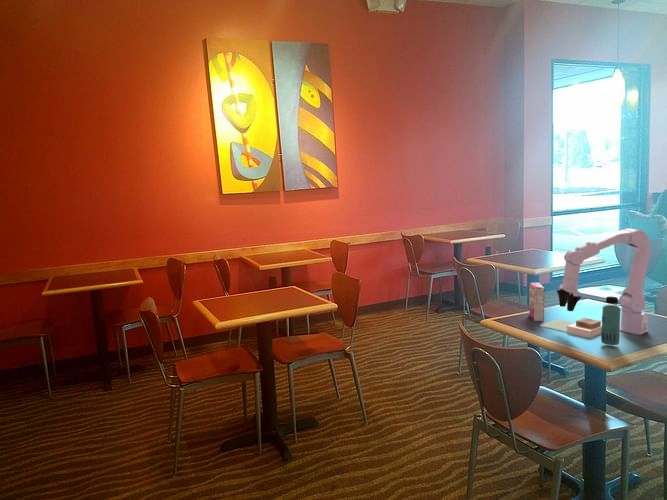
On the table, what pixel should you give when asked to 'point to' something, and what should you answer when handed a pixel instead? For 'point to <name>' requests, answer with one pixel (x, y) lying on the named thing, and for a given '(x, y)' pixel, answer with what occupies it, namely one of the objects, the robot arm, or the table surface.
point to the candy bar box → (536, 302)
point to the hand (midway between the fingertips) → (566, 308)
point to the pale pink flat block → (584, 330)
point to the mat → (557, 325)
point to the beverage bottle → (611, 322)
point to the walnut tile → (588, 323)
